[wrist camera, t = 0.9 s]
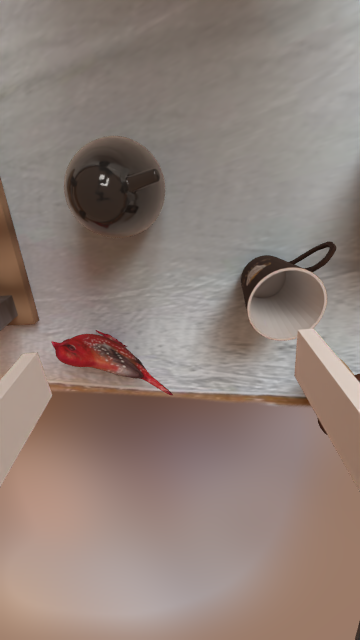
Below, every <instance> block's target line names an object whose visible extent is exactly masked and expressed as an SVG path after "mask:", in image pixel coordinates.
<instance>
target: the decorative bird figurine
mask: <svg viewBox="0 0 360 640" xmlns="http://www.w3.org/2000/svg"><path fill="white" fill-rule="evenodd" d="M96 331H97V330H96ZM97 332H98V333H100V334H102V335H103V336H100V335H95V334H82V335H78V336H75V337H73V338H71V339H67V340H65V341H63V342H62V343H57V342H53V341H52V344H53V346H54V348H55V350H56V356H57V358H58V359H59V360H60V361H61V362H63V363H65V364H68V365H72V366H76V367H93V368H97V369H100V370H104V371H107V372H110V373H113V374H117V375H121V376H126V377H131V378H139V379H143V380H145V381H147V382H149V383H150V384H152V385H154V386H155V387H157V388H159V389H160V390H162V391H164V392H165V393H167V394H169V395H173V394H172V393H171V392H170V391H169V390H168V389H166V388H165V387H164V386H163V385H162V384H161V383H159V382H158V381H157V380H156V379H154V378H153V377H152V376H151V375H150V374H149V373H148V372H147V370H146V369H145V368H144V366H143V365H142V363H141V362H140V360H139V359H138V358H136V357H135V356H134V355H133V354H132V353H131V352H130V351H129V350H127V349H126V348H125V347H127V346H125V345H122V343H121V342H119V341H118V340H117V339H115V338H113V337H112V336H110V335H108V334H103V333H101V332H99V331H97Z"/></svg>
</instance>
